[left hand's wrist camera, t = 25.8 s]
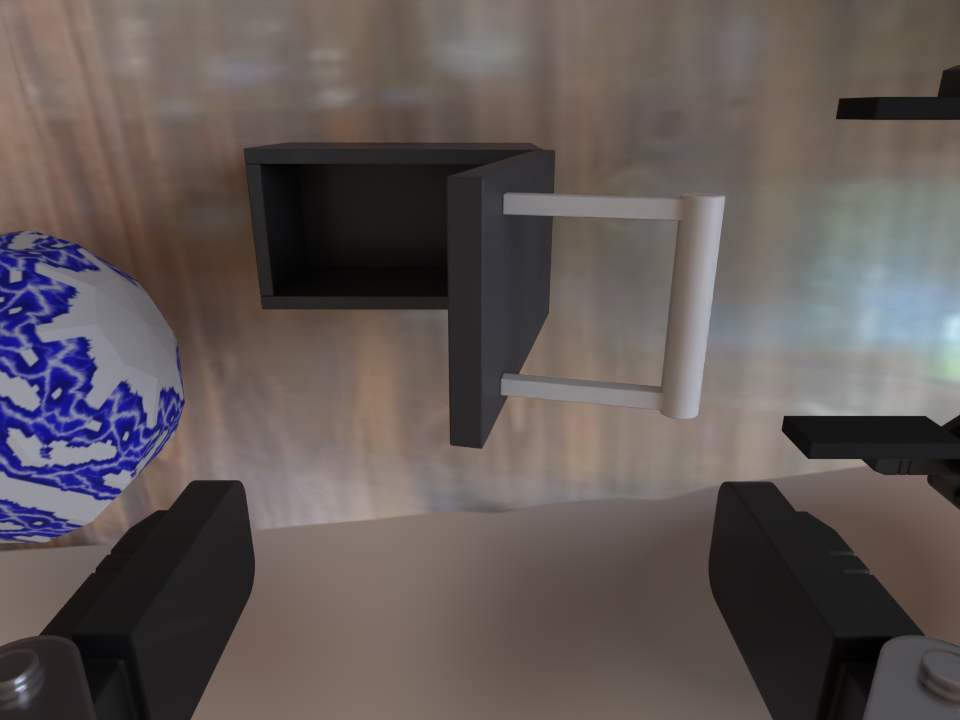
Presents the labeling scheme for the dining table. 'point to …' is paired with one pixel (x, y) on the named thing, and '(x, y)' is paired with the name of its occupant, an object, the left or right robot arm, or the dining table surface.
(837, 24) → the dining table surface
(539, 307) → the lid
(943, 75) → the right robot arm
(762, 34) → the dining table surface
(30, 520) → the ornament
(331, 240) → the chest
